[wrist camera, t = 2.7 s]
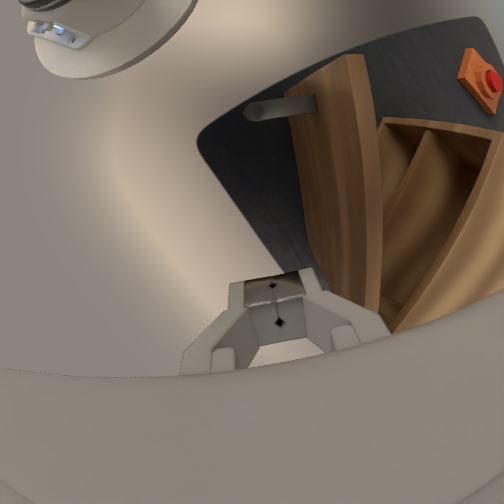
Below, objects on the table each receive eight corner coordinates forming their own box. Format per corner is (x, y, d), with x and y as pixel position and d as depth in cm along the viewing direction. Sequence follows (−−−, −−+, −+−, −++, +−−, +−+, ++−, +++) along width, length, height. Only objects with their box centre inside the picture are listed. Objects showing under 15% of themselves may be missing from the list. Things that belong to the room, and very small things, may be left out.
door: (269, 252, 40) (294, 370, 21) (238, 100, 31) (236, 64, 11) (315, 243, 40) (373, 350, 21) (292, 91, 30) (363, 54, 11)
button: (483, 81, 24) (490, 81, 23) (486, 67, 23) (493, 67, 21) (494, 95, 25) (500, 95, 23) (497, 81, 24) (503, 81, 22)
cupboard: (316, 245, 40) (374, 354, 21) (382, 116, 32) (503, 132, 12) (389, 277, 44) (454, 367, 24) (449, 170, 35) (548, 218, 16)
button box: (456, 78, 28) (471, 77, 24) (465, 48, 24) (479, 47, 21) (486, 113, 30) (501, 115, 26) (494, 84, 27) (508, 84, 23)
